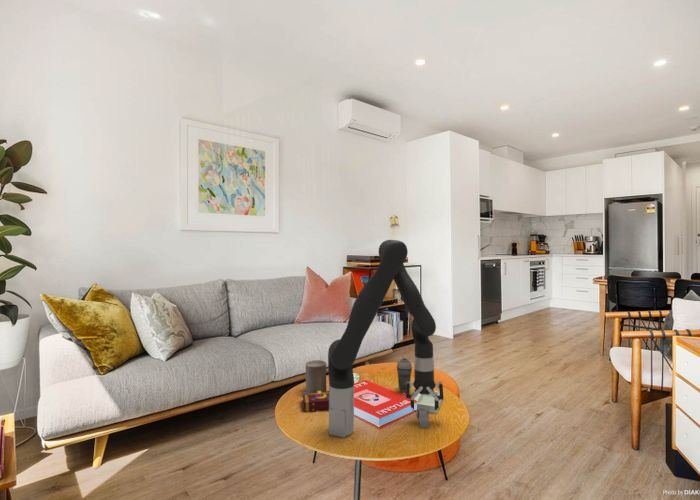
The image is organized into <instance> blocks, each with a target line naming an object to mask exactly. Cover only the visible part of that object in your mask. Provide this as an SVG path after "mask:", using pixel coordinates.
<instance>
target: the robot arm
mask: <svg viewBox="0 0 700 500" xmlns="http://www.w3.org/2000/svg"><path fill="white" fill-rule="evenodd" d="M378 257H379V259H380V261H379V264H378V266H377V268H376V270H375V272H374V273H373V274H372V275H371V277H370V278H369V279H368V280H367V281H366V283H365V284H363V286H362V288H361V289H360V291H359V292H358V295H357V296H356V298H355V300H354V302H353V304H352V308H351V311H350V314H349V317H348V318H349V319H348V323H347V325H346V328H345V330H344V332H343V334H342V336H341V337H340V339H336V340H334V341H333V342H331V344H330V345H329V348H328V352H327V353H328V354H327V359H328V360H327V364H328V365H327V366H328V368H327V369H328V370H327V371H328V391H329V411H328V435H329V436H334V437H338V438H345V437H347V436H350V435H352V434H354V431H355V376H354V368H353V365H354V363H355V361H356V359H357V356H358V354H359V350H360V348H361V345H362V342H363V340H364V339H365V336H366V334H367V332H368V331H369V329H370V327H371V325H372V324H373V321H374V320H375V317H376V316H377V313H378V312H379V310H380V308H381V306H382V305H383V302H384V299H385V297H386V296H387V293H388V291H389V290H390V287H391V285H392V283H393V282H394V284H395V286H396V288H397V290H398V293H399V294H400V296H401V299H402V301H403V305H404V307H405V308H406V311H407V312H408V313H409V314H410V315H411V316H412V317H413V319H412V321H411V326H410V328H411V334H412V339H413V343H414V360H413V366H414V367H413V368H414V369H413V370H414V371H413V373H414V375H413V376H414V380H413V382H411V381H410V382H409V381H407V383H406V394H405V398H406V399H409V400H410V407H411V409H412V408H413V409H414V399H415V398H416V396H417V395H418V394H419V393H420V394H426V395H429V394H431V395H432V396H433V397H434V399H435V410H437V409H438V408H439V409H440V407H439V400H442V401H443V400H444V387H443V386H444V385H443V383H442V382H441V381H439V382H436V381H435V361H434V360H435V359H434V345H433V342H432V341H431V340H430V339H429V337H431V336H433V335H434V334H435V332H436V330H437V325H436V321H435V319H434V318H433V317H434V316H433V315H432V314H431V312H430V311H429V309H428V308H427V306H426V305H425V302H424V299H423V297H422V295H421V292H420V290H419V289H418V287H417V284H415V282H414V281H413V279H412V278H411V276H410V275H409V273H408V271H407V269H406V267H405V264H404V263H405V261H406V260H407V257H408V247H407V245H406V244H405V242H404V241H400V240H397V239H395V240H394V239H386V240H384V241H382V242H381V244H380V245H379V247H378ZM412 387H414V390H413V391H412V393H411V394H410V390H411V389H412ZM435 388H437V389H438V391H439V393H440V395H438V396H437V394H436V393H435V392H434V391H435ZM439 409H438V410H439Z"/></svg>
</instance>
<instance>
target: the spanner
mask: <svg viewBox="0 0 700 500" xmlns="http://www.w3.org/2000/svg"><path fill="white" fill-rule="evenodd" d="M416 417H417V419H419V420H418V421H419V428H420V429H426V430H428V429H429V413H428V407H422V406H417V411H416Z"/></svg>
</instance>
